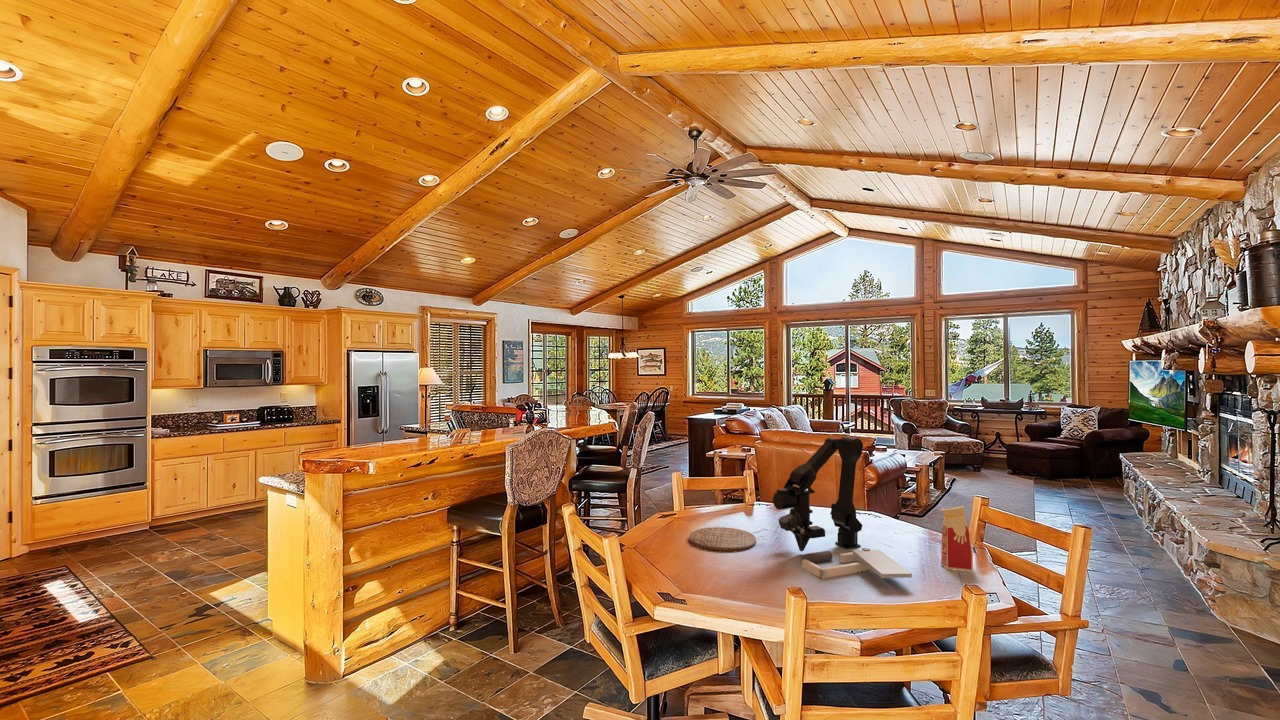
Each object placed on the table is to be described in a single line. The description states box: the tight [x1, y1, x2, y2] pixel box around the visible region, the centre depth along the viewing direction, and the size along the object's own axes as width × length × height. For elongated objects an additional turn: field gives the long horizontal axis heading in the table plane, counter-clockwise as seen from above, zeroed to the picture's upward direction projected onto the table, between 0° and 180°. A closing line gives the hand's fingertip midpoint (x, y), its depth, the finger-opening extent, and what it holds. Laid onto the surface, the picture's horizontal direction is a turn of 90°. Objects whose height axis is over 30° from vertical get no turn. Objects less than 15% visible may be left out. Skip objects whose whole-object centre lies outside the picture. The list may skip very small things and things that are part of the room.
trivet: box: [688, 526, 757, 553], centre depth 216 cm, size 25×25×2 cm
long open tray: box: [801, 551, 873, 580], centre depth 187 cm, size 23×10×3 cm, turn 112°
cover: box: [852, 547, 913, 579], centre depth 181 cm, size 23×9×1 cm, turn 2°
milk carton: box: [940, 505, 974, 573], centre depth 189 cm, size 9×9×20 cm
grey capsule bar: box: [801, 550, 834, 564], centre depth 194 cm, size 12×3×3 cm, turn 112°
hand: (801, 550), depth 201 cm, fingers closed
